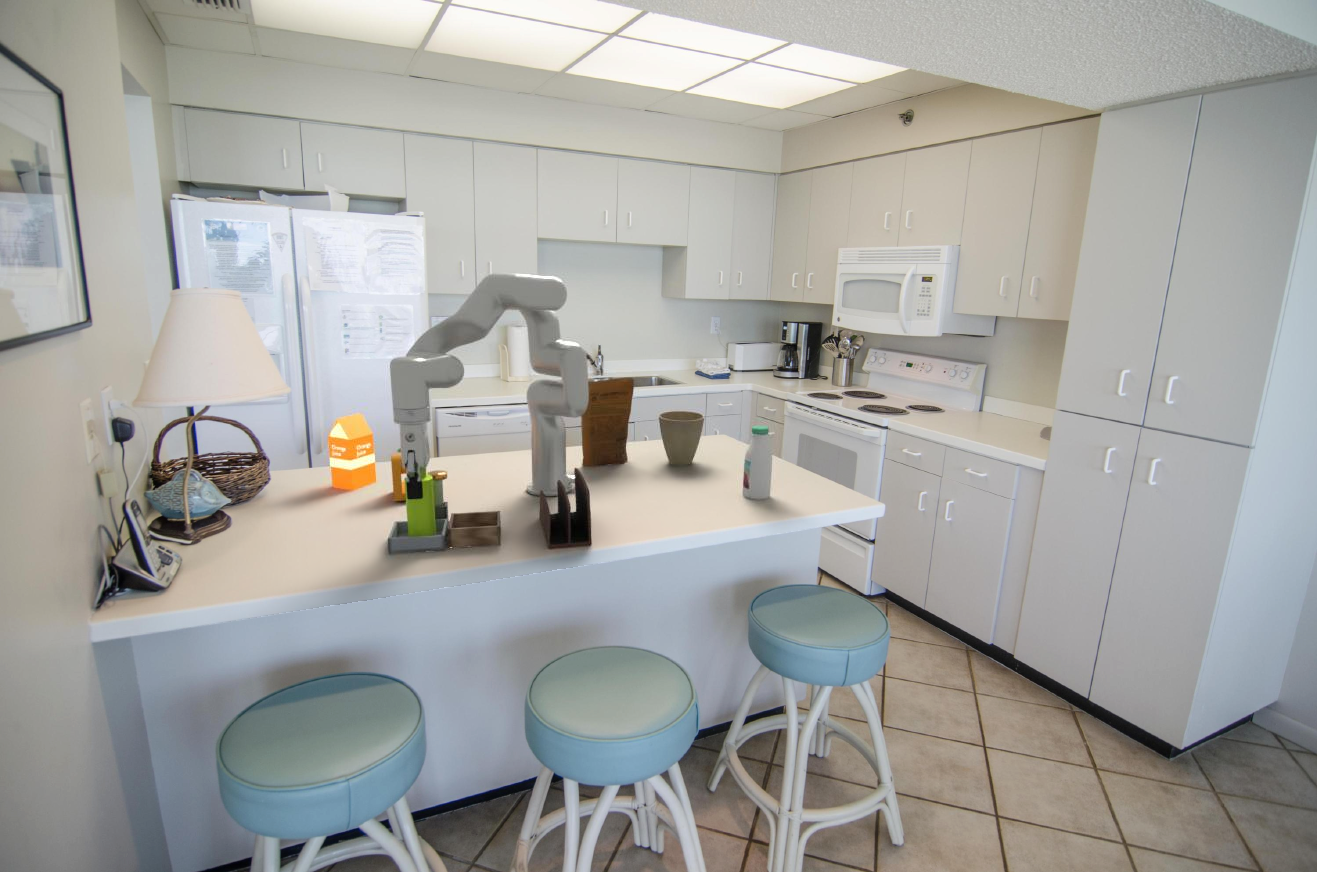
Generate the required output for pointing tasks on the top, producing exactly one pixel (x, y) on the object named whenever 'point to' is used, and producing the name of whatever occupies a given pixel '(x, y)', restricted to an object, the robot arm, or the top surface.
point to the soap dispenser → (421, 508)
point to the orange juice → (351, 453)
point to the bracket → (398, 477)
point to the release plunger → (438, 486)
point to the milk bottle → (758, 465)
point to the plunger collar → (442, 512)
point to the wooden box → (474, 529)
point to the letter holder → (567, 517)
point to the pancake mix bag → (606, 422)
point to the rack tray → (417, 539)
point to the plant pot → (681, 435)
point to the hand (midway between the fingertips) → (417, 493)
